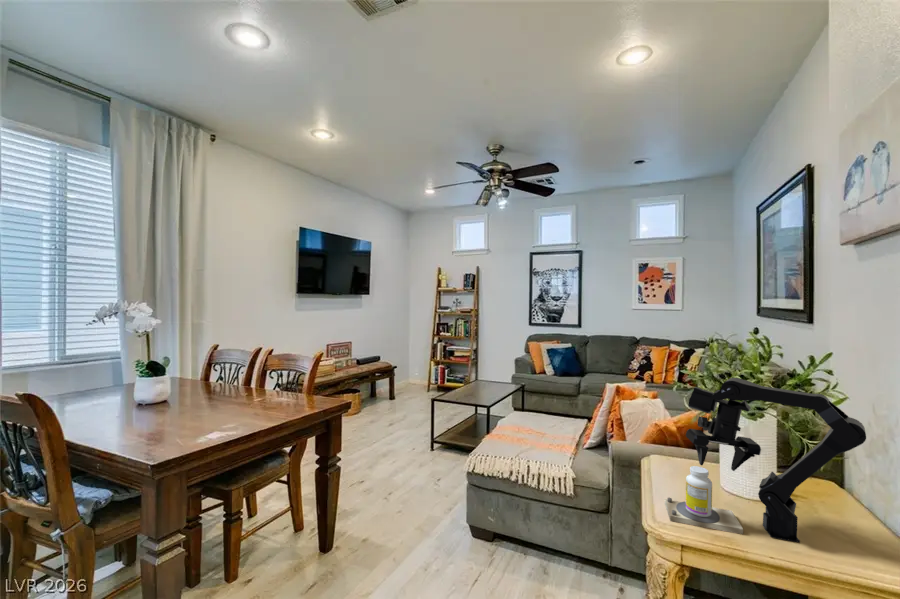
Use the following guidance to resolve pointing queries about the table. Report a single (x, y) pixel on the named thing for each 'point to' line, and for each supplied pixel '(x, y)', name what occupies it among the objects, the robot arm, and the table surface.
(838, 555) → the table surface
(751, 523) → the table surface
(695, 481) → the supplement bottle
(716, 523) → the jig board
